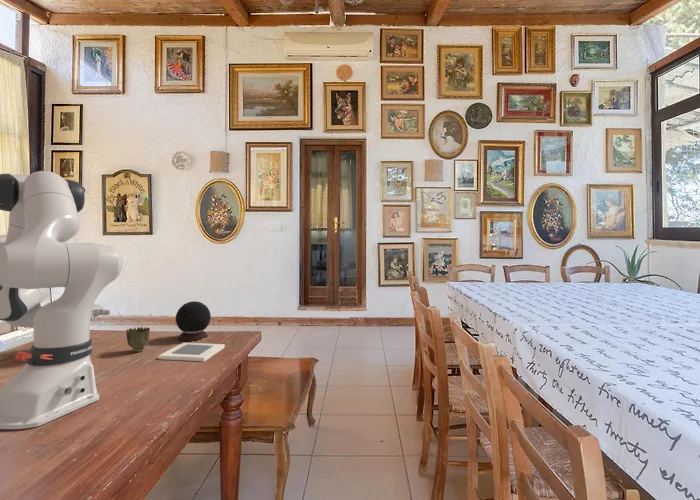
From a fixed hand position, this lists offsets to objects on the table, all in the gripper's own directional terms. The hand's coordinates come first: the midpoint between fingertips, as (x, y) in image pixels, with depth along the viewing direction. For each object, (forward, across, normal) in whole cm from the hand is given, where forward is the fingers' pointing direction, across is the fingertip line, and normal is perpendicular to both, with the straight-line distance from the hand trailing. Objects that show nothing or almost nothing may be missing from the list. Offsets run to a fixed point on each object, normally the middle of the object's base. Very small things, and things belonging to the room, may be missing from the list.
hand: (101, 315), depth 130 cm
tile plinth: (+32, -3, +12) cm, 35 cm away
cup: (+13, 0, +13) cm, 18 cm away
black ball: (+26, +18, +13) cm, 34 cm away
